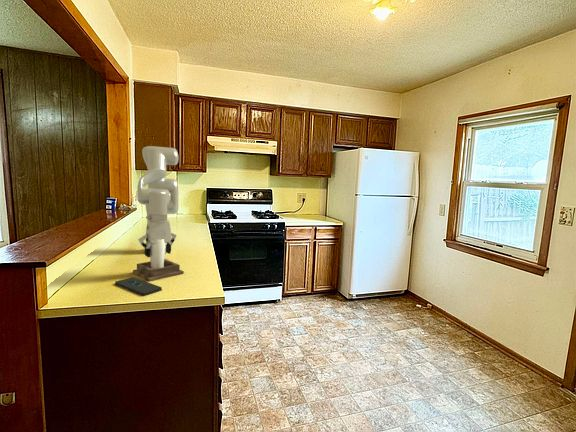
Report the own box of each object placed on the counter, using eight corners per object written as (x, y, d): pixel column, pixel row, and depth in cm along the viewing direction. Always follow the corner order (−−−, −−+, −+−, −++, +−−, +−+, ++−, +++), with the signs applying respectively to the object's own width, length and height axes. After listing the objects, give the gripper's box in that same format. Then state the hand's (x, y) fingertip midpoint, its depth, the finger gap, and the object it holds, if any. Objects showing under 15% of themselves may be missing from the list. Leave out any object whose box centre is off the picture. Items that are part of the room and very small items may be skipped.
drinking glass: (159, 273, 137) (159, 240, 135) (146, 271, 138) (145, 239, 136) (168, 269, 143) (168, 237, 141) (155, 267, 145) (155, 236, 143)
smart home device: (133, 276, 131) (162, 287, 121) (133, 280, 132) (162, 291, 121) (113, 281, 124) (143, 293, 114) (113, 285, 125) (143, 297, 114)
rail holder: (132, 272, 140) (132, 263, 139) (165, 266, 152) (165, 257, 152) (149, 281, 130) (149, 271, 129) (183, 273, 142) (183, 264, 141)
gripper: (142, 220, 129) (143, 260, 131) (180, 217, 142) (180, 253, 144) (134, 218, 134) (135, 256, 136) (171, 215, 147) (171, 250, 149)
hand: (158, 254), depth 140 cm, fingers open, 9 cm apart
